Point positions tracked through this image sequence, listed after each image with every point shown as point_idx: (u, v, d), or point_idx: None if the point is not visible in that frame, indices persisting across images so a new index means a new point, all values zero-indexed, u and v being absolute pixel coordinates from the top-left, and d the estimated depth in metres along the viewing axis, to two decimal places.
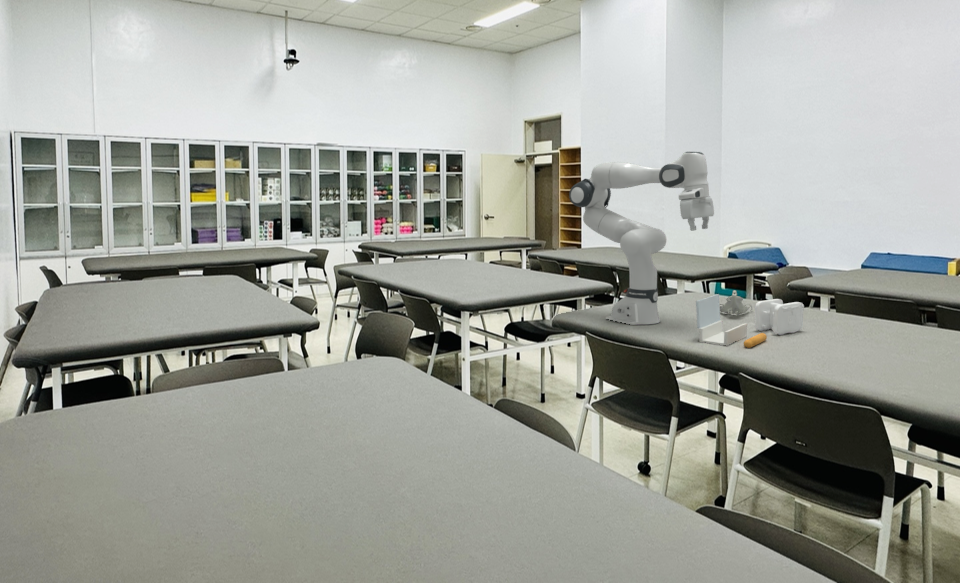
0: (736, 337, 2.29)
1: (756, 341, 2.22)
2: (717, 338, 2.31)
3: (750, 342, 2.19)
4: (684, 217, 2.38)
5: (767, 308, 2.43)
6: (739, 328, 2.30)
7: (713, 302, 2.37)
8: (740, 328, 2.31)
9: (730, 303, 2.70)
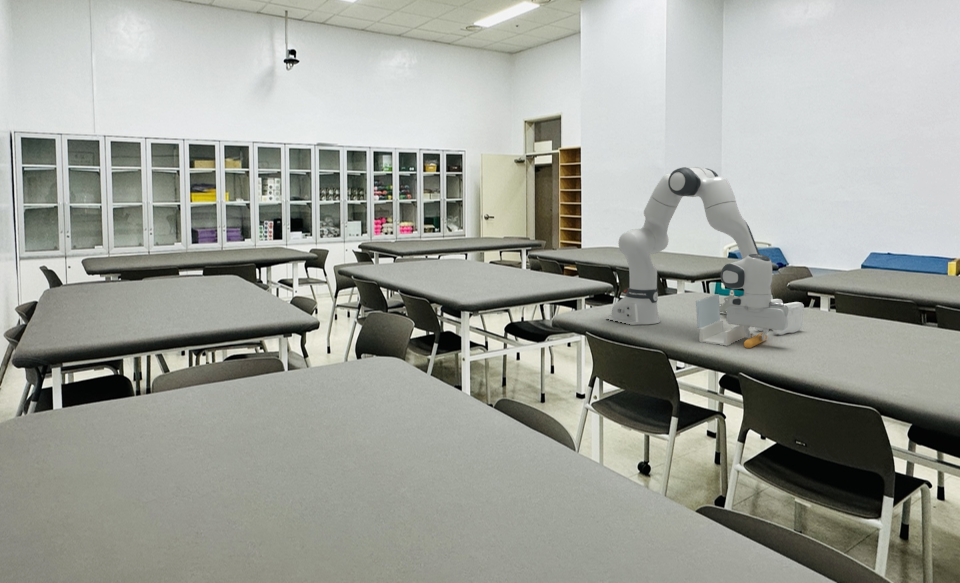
0: (736, 337, 2.29)
1: (756, 341, 2.21)
2: (717, 338, 2.31)
3: (750, 342, 2.19)
4: None
5: None
6: (739, 328, 2.30)
7: (713, 302, 2.37)
8: (740, 328, 2.31)
9: (728, 303, 2.70)
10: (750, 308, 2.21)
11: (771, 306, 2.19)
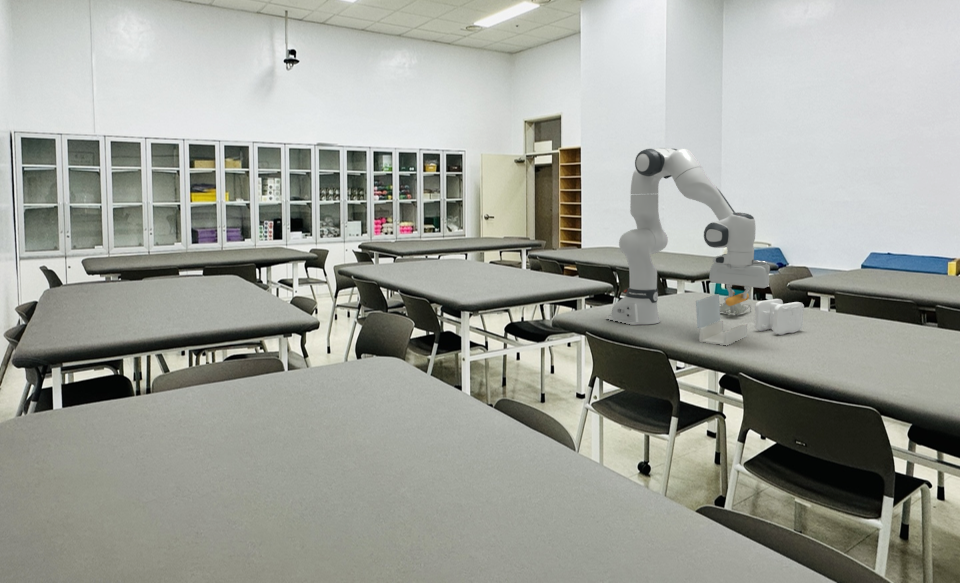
0: (736, 337, 2.29)
1: (738, 299, 2.24)
2: (717, 338, 2.31)
3: (732, 300, 2.21)
4: None
5: (767, 308, 2.43)
6: (739, 328, 2.30)
7: (713, 302, 2.37)
8: (740, 328, 2.31)
9: None
10: (733, 266, 2.24)
11: (753, 264, 2.21)
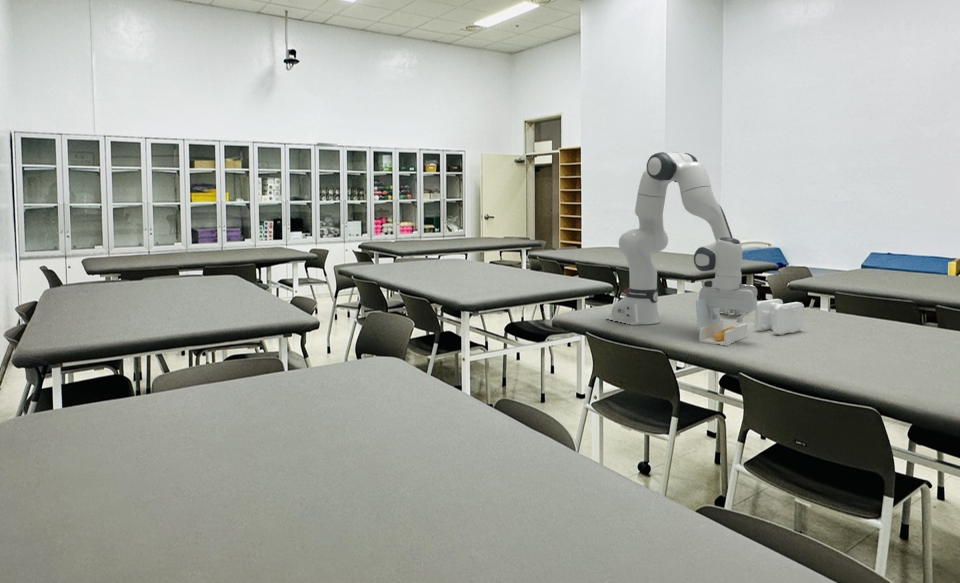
0: (736, 337, 2.29)
1: None
2: None
3: (720, 335, 2.26)
4: None
5: (767, 308, 2.43)
6: (739, 328, 2.30)
7: None
8: (740, 328, 2.31)
9: None
10: (721, 290, 2.28)
11: (741, 288, 2.25)
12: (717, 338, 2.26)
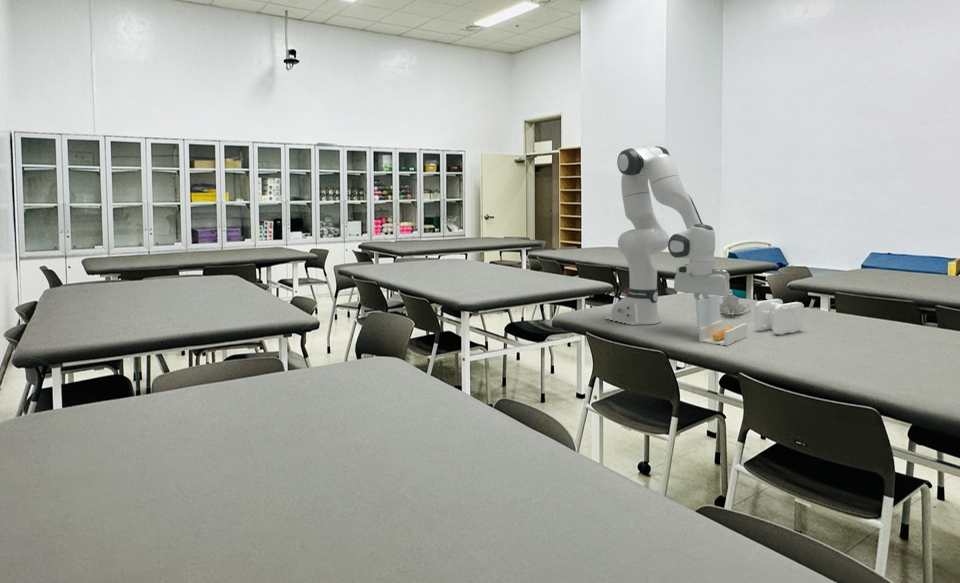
0: (736, 337, 2.29)
1: None
2: None
3: (717, 334, 2.26)
4: None
5: (767, 308, 2.43)
6: (739, 328, 2.30)
7: (713, 302, 2.37)
8: (740, 328, 2.31)
9: (726, 302, 2.71)
10: (695, 275, 2.34)
11: (714, 273, 2.31)
12: (716, 338, 2.26)
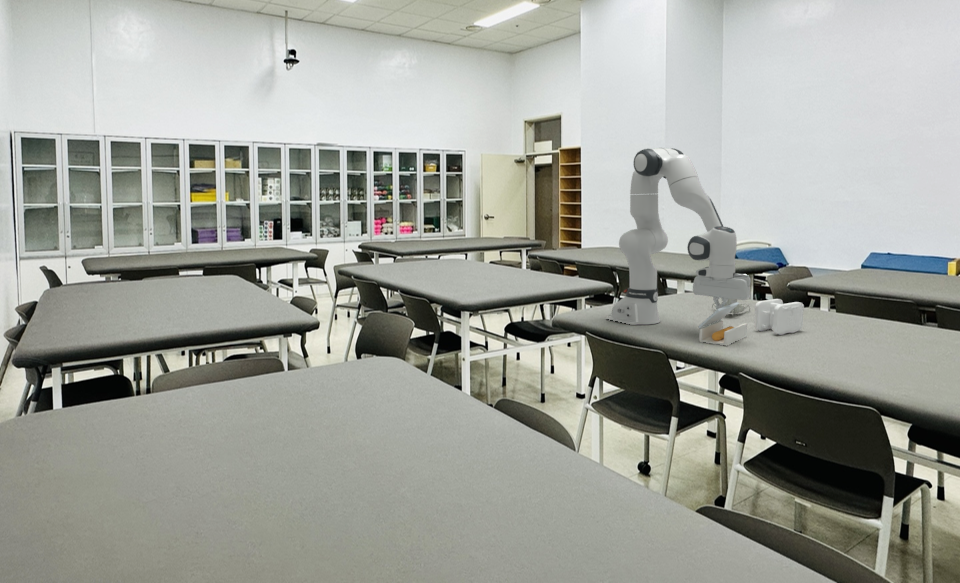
0: (736, 337, 2.29)
1: (723, 332, 2.29)
2: None
3: (716, 333, 2.27)
4: None
5: (767, 308, 2.43)
6: (739, 328, 2.30)
7: (729, 309, 2.34)
8: (740, 328, 2.31)
9: (726, 302, 2.72)
10: (715, 279, 2.29)
11: (735, 277, 2.26)
12: (715, 337, 2.26)
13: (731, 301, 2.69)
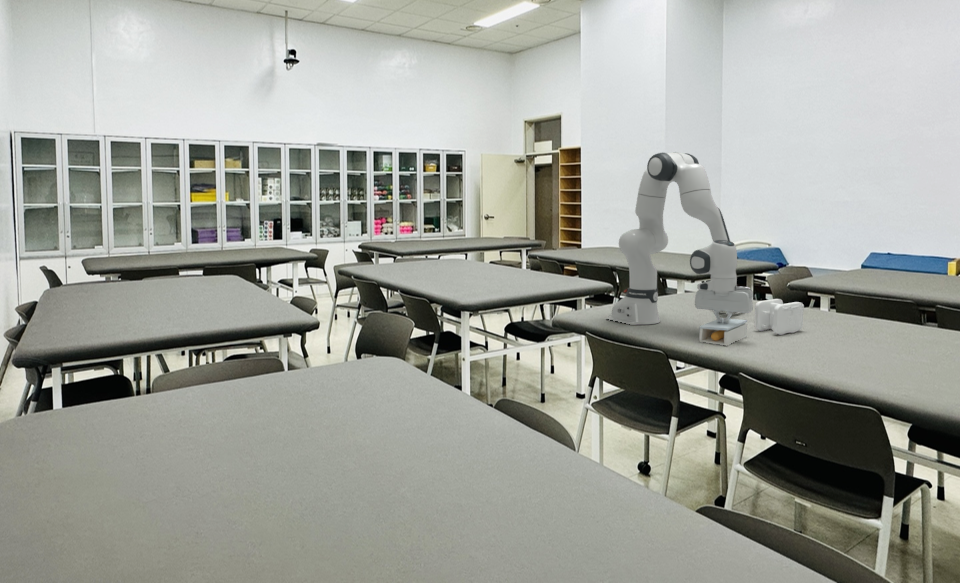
0: (736, 337, 2.29)
1: (722, 331, 2.30)
2: None
3: (715, 333, 2.27)
4: None
5: (767, 308, 2.43)
6: (739, 328, 2.30)
7: None
8: (740, 328, 2.31)
9: None
10: (716, 292, 2.29)
11: (736, 290, 2.26)
12: (715, 337, 2.26)
13: None
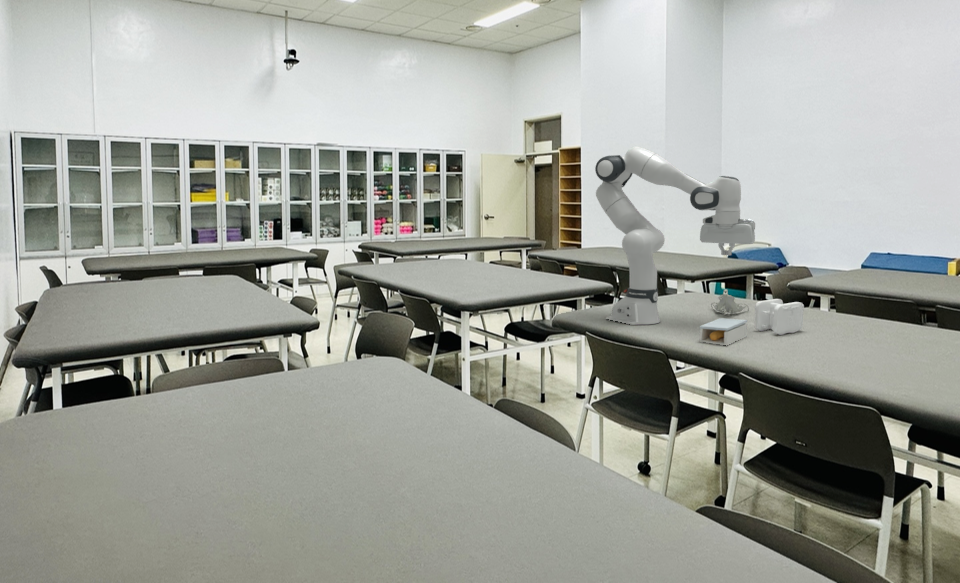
0: (736, 337, 2.29)
1: (719, 330, 2.30)
2: None
3: (713, 333, 2.27)
4: None
5: (767, 308, 2.43)
6: (739, 328, 2.30)
7: None
8: (740, 328, 2.31)
9: (722, 302, 2.73)
10: (721, 225, 2.42)
11: (740, 222, 2.39)
12: (713, 336, 2.27)
13: (728, 301, 2.70)
